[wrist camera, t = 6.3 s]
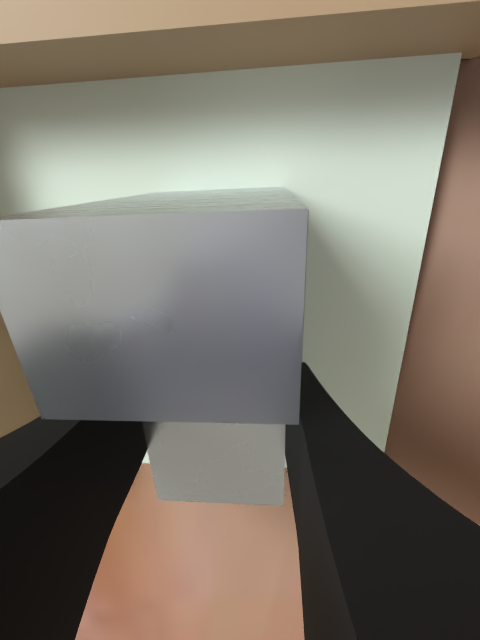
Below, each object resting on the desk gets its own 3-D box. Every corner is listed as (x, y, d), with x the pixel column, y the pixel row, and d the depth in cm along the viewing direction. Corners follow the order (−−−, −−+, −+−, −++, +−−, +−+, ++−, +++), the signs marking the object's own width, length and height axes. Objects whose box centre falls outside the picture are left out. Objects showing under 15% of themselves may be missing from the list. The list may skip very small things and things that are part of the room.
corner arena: (485, -1, 8) (624, -113, 5) (389, 460, 15) (423, 538, 12) (-106, 53, 10) (-289, -7, 6) (49, 449, 16) (-4, 516, 13)
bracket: (279, 416, 13) (290, 632, 7) (186, 414, 14) (117, 618, 7) (281, 186, 10) (307, 208, 3) (155, 192, 10) (-34, 221, 4)
